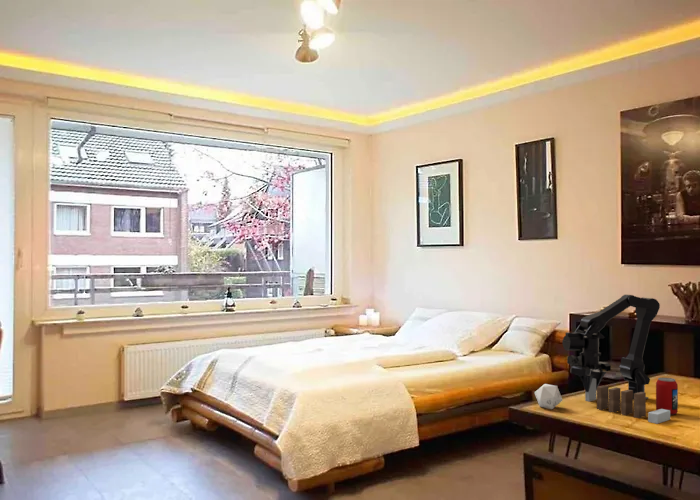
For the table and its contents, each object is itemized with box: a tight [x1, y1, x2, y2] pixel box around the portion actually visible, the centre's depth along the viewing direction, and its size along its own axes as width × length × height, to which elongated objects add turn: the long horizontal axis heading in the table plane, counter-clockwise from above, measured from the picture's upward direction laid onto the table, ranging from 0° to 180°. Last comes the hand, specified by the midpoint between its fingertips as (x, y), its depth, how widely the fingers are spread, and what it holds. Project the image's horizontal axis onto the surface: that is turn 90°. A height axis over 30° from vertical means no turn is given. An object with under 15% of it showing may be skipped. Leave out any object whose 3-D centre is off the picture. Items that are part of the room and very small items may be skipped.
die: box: [533, 383, 563, 410], centre depth 221 cm, size 8×9×10 cm
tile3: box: [620, 389, 634, 416], centre depth 212 cm, size 2×5×8 cm, turn 128°
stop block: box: [647, 409, 671, 425], centre depth 203 cm, size 9×3×3 cm, turn 128°
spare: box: [584, 378, 597, 402], centre depth 233 cm, size 2×5×8 cm, turn 128°
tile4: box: [633, 392, 647, 419], centre depth 209 cm, size 2×5×8 cm, turn 128°
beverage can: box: [655, 377, 679, 416], centre depth 213 cm, size 7×7×12 cm
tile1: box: [596, 385, 610, 411], centre depth 219 cm, size 2×5×8 cm, turn 128°
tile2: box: [608, 386, 621, 413], centre depth 216 cm, size 2×5×8 cm, turn 128°
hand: (590, 390), depth 233 cm, fingers closed on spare, 5 cm apart
